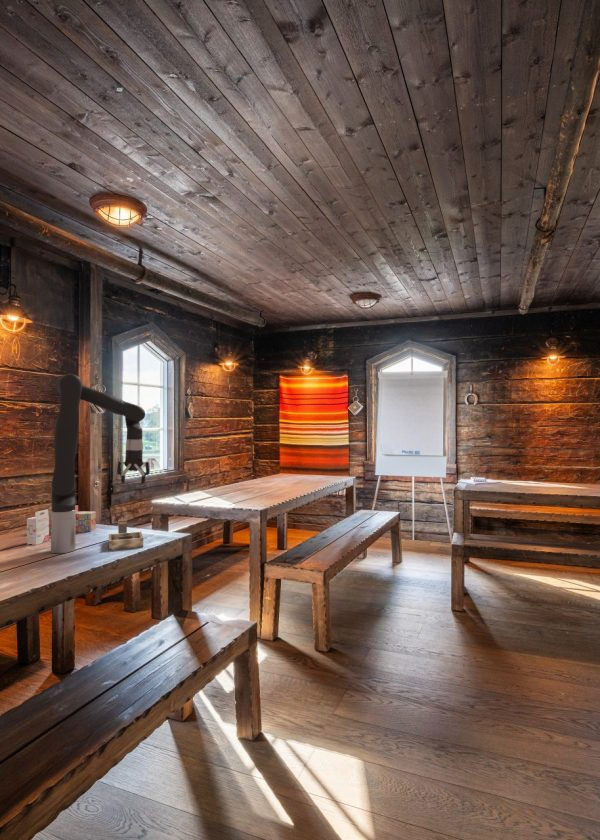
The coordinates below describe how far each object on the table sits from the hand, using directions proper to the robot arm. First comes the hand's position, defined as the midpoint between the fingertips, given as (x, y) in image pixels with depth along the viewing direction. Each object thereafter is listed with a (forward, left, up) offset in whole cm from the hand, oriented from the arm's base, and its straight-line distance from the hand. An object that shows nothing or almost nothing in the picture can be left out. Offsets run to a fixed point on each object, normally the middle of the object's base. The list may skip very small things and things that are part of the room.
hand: (133, 483), depth 226 cm
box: (-4, -9, -26) cm, 28 cm away
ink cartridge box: (-41, +11, -26) cm, 50 cm away
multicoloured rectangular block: (-27, +32, -26) cm, 50 cm away
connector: (-5, +3, -26) cm, 27 cm away
